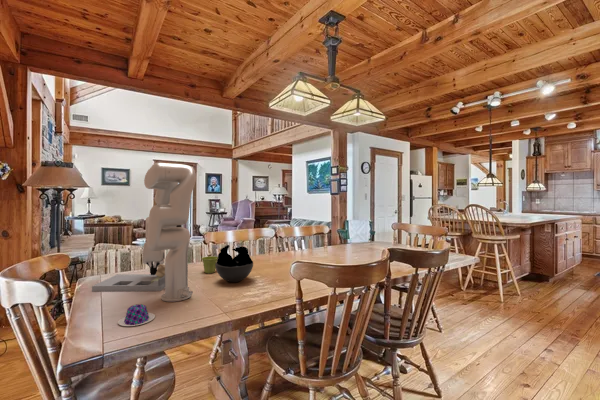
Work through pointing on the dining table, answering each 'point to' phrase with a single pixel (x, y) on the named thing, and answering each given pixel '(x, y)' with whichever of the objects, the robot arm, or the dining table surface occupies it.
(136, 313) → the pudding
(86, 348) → the dining table surface
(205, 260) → the plant pot
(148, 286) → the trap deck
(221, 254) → the black bowl plant
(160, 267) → the block
